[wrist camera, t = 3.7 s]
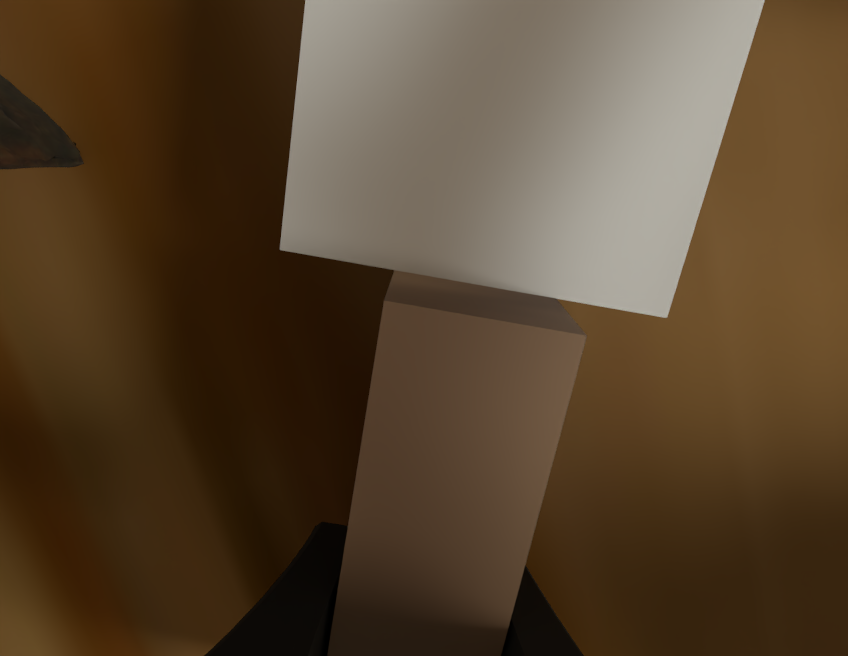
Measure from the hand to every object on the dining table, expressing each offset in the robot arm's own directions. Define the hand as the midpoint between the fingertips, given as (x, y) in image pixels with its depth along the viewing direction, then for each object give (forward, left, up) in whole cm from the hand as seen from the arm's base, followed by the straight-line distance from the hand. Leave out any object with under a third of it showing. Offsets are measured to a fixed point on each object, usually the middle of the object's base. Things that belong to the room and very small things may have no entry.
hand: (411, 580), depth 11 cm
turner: (0, -2, -2) cm, 3 cm away
